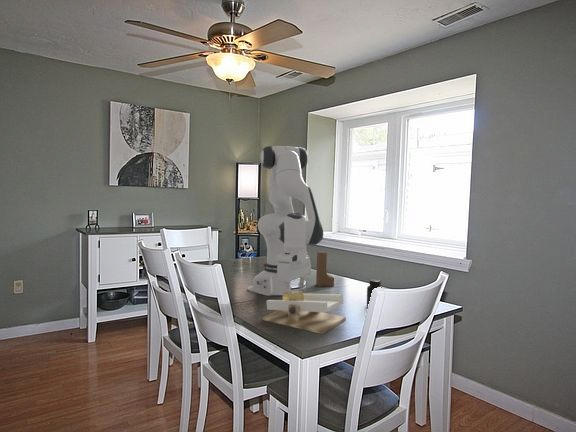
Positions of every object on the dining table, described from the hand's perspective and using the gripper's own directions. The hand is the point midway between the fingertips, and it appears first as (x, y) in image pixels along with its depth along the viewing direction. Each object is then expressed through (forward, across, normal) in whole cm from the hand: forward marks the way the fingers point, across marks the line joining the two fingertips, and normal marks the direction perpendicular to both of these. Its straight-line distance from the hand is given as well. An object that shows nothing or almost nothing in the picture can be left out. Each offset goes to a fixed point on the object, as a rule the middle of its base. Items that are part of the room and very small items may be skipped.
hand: (295, 289), depth 157 cm
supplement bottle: (+12, -34, +20) cm, 42 cm away
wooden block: (+11, -57, -16) cm, 60 cm away
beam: (+5, 0, +4) cm, 7 cm away
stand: (+11, 0, +4) cm, 12 cm away
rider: (+5, 0, -1) cm, 5 cm away
